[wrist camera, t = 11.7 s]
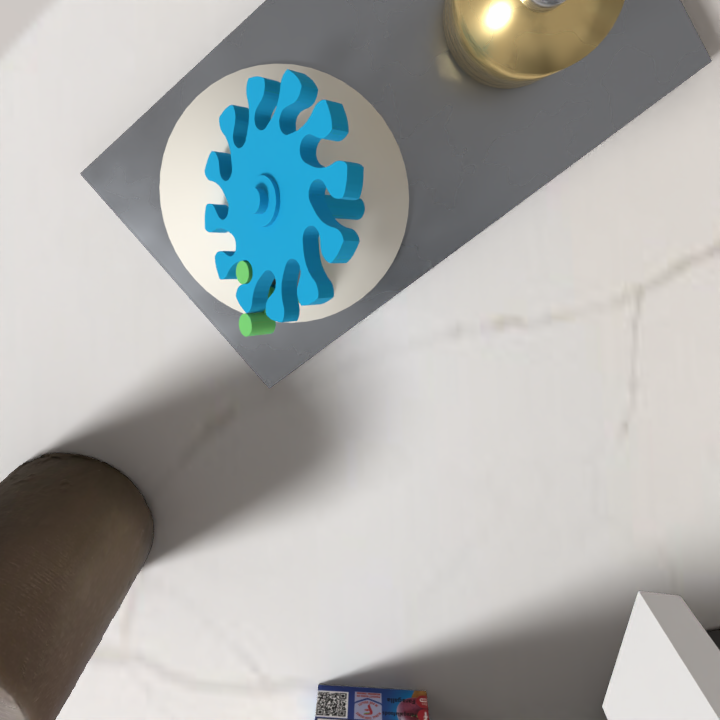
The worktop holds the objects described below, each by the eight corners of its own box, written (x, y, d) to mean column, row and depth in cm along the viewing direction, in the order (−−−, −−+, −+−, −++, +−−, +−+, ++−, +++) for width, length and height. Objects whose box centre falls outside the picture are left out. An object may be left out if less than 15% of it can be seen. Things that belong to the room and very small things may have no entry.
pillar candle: (40, 422, 34) (-206, 618, 19) (185, 507, 35) (57, 745, 21) (-25, 534, 36) (-279, 777, 22) (113, 608, 38) (-43, 877, 24)
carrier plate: (536, -240, 23) (607, -411, 16) (697, 65, 27) (812, 32, 20) (91, 172, 29) (2, 177, 22) (272, 380, 32) (245, 441, 25)
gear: (213, 40, 24) (368, 104, 18) (321, 71, 28) (476, 132, 22) (174, 281, 29) (287, 391, 23) (271, 278, 33) (388, 371, 27)
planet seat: (425, 81, 26) (426, 80, 26) (391, 333, 30) (391, 335, 30) (161, 49, 26) (158, 48, 26) (162, 307, 30) (159, 308, 30)
